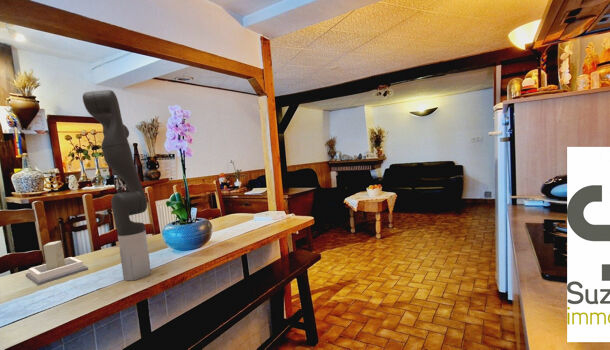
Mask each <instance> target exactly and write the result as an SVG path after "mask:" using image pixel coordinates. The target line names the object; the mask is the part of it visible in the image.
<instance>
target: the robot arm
mask: <svg viewBox="0 0 610 350" xmlns="http://www.w3.org/2000/svg"><path fill="white" fill-rule="evenodd" d="M82 102H83V105H84V107H85V109H86V111H87V112H88V113H89V115H90V116H91V117H92V118H94V119H95V120H96V121H97V122H99V123H100V124H101V126H102V127H103V129H102V135H103V136H104V137H103V139H102V141H101V142H102V143H101V146H100V147H101V150H102V154H103V158H104V161H105V163H106V164H107V166H108V167H109V168H110V169H111V172H112V173H111V174H112V176H115V177H113V184H114V189H115V190H117V193H114V194H113V195H112V197H111V201H110V202H111V209H112V214H113V221H114V225H115V229H116V233H117V240H118V247H119V254H120V263H121V269H122V270H121V271H122V277H123V280H124V281H137V280H139V279H142V278H144V277H148V276H149V275H151V274H152V272H151V271H152V270H151V264H150V263H151V262H150V257H149V256H150V255H149V248H148V247H149V246H148V240H147V231H146V225H145V223H144V222H140V221H139V222H137V221H132V220H131V218H130V216H133V215H139V214H142V213H145V212H146V210H147V208H148V199H147V195H146V194H145V191H144V188H143V186H142V183H141V180H140V178H139V175H138V172H137V169H136V166H135V161H134V158H133V153H132V150H131V146H130V144H129V140H128V138H129V136H130V131H129V129H128V127H127V126H126V125H125V124H124V122H123V119H122V113H121V109H120V104H119V100H118V97H117V95H116V93H115V92H114V91H113V90H111V89H106V90H105V89H104V90H93V91H92V90H91V91H86V92H84V93H83V95H82Z"/></svg>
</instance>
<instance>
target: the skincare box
mask: <svg viewBox="0 0 610 350" xmlns="http://www.w3.org/2000/svg"><path fill="white" fill-rule="evenodd" d="M42 248H43V253H44V261H45V264H46V267H47V271H49V270H52V269H56V268H59V267H63V266H65V260H64V259H65V256H64V250H63V249H64V248H63V243H62V240H56V241H51V242H48V243H45V244H44V245H43V246H42Z"/></svg>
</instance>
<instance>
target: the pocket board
mask: <svg viewBox="0 0 610 350" xmlns="http://www.w3.org/2000/svg"><path fill="white" fill-rule="evenodd" d="M64 260H65V266H63V267H59V268H56V269H52V270H49V271H47V267H46V263H44V264H41V265H37V266H32V267H30V268H28V270H29V271H28V272H27V273H25V277H26V278H28V279H29V280H31V281H32V282H33V283H34V284H36V285H37V286H41V285H44V284H46V283H50V282H54V281H56V280H60V279H62V278H65V277H70V276H72V275H75V274H79V273H82V272H84V271H89V267H88V266H86V265H84V263H83V261H82V260H80V259H77V258H75V257H72V256H70V257H67V258H65V257H64Z"/></svg>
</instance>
